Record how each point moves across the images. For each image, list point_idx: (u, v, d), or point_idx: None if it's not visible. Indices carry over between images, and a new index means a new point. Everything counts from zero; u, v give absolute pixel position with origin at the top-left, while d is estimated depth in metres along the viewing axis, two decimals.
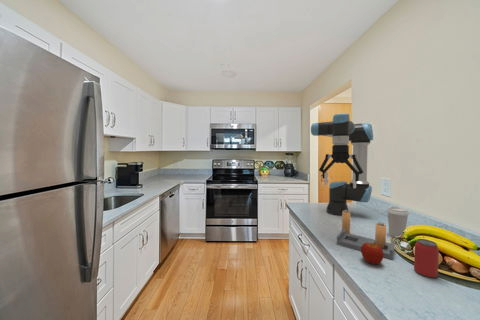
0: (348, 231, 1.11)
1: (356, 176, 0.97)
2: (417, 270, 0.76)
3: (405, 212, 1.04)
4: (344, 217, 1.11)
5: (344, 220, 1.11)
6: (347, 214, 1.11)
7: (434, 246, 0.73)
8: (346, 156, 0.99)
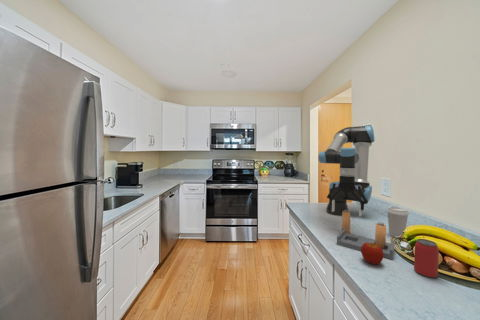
0: (348, 231, 1.11)
1: (361, 205, 1.07)
2: (417, 270, 0.76)
3: (405, 212, 1.04)
4: (344, 217, 1.11)
5: (344, 220, 1.11)
6: (347, 214, 1.11)
7: (434, 246, 0.73)
8: (352, 186, 1.09)
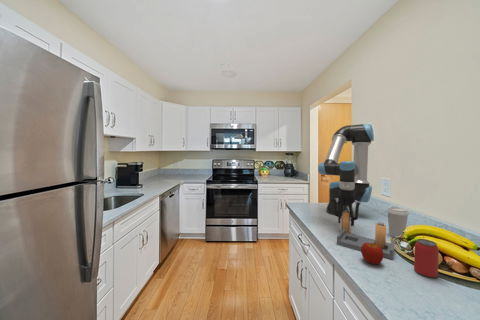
0: (348, 231, 1.11)
1: (352, 221, 1.10)
2: (417, 270, 0.76)
3: (405, 212, 1.04)
4: (344, 217, 1.11)
5: (344, 220, 1.11)
6: (347, 214, 1.11)
7: (434, 246, 0.73)
8: (352, 200, 1.09)
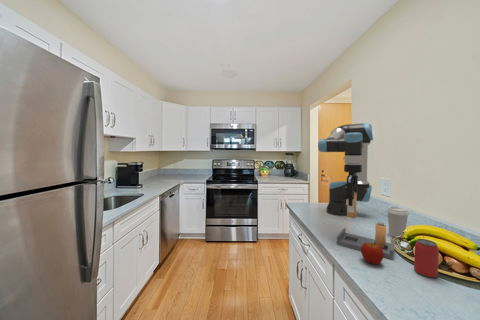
0: (348, 213, 1.00)
1: (348, 200, 0.98)
2: (417, 270, 0.76)
3: (405, 212, 1.04)
4: None
5: None
6: None
7: (434, 246, 0.73)
8: None
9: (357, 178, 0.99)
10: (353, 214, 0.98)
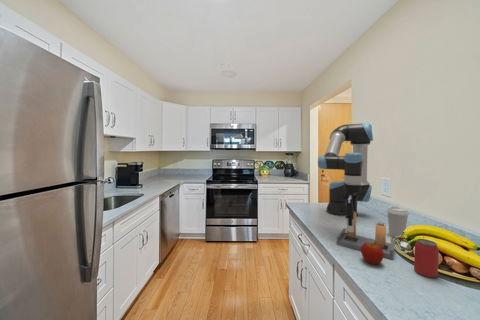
0: (347, 232, 1.00)
1: None
2: (417, 270, 0.76)
3: (405, 212, 1.04)
4: None
5: None
6: None
7: (434, 246, 0.73)
8: None
9: (357, 198, 1.00)
10: (353, 234, 0.99)
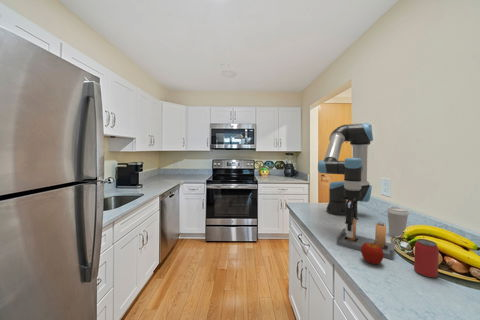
0: (347, 239, 1.01)
1: (347, 225, 0.98)
2: (417, 270, 0.76)
3: (405, 212, 1.04)
4: None
5: None
6: None
7: (434, 246, 0.73)
8: None
9: None
10: (353, 241, 0.99)
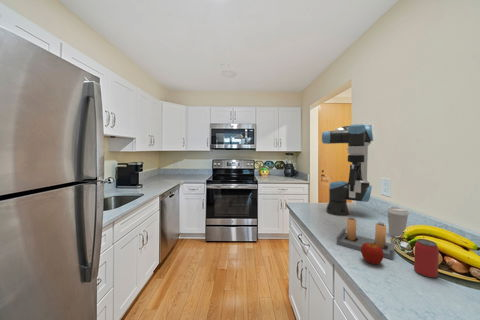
0: (347, 239, 1.01)
1: (350, 186, 1.00)
2: (417, 270, 0.76)
3: (405, 212, 1.04)
4: None
5: None
6: (347, 220, 1.01)
7: (434, 246, 0.73)
8: None
9: (360, 167, 1.05)
10: (353, 241, 0.99)
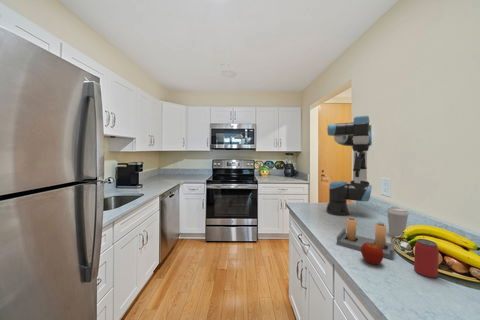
0: (347, 239, 1.01)
1: (355, 172, 1.08)
2: (417, 270, 0.76)
3: (405, 212, 1.04)
4: None
5: None
6: (347, 220, 1.01)
7: (434, 246, 0.73)
8: None
9: (364, 156, 1.13)
10: (353, 241, 0.99)
